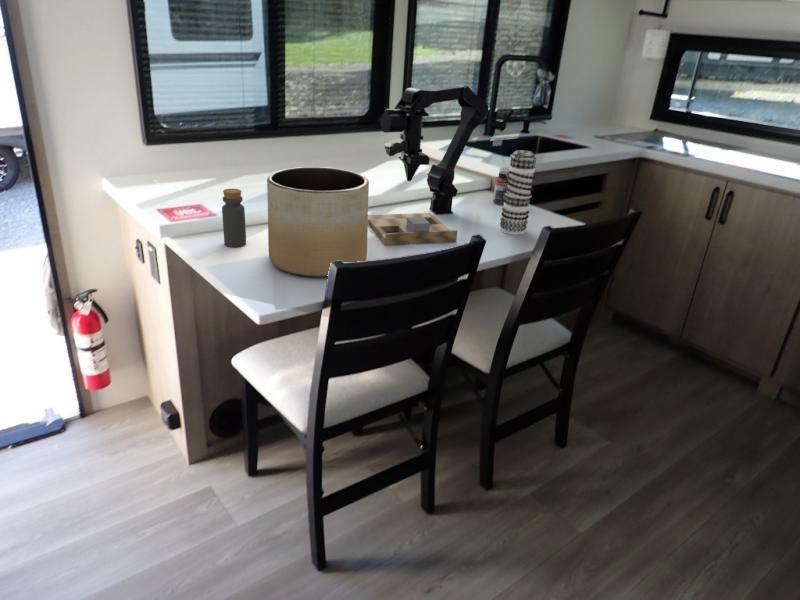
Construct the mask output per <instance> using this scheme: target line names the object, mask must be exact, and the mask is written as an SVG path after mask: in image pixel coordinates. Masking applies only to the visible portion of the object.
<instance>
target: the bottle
mask: <svg viewBox="0 0 800 600" xmlns="http://www.w3.org/2000/svg"><path fill="white" fill-rule="evenodd" d="M222 192H223V196H222V202H223V203H224V204H223V206H222V207H221V213H222V227H223V241H224V245H225V247H228V248H242V247H244V246H246V245H247V230H246V227H247V226H246V215H245V214H246V210H245V206H244V205H243V204H242V202H243V201H244V200H243V196H242V190H241V189H240V188H239V189H238V188H227V189H224V190H223V191H222Z"/></svg>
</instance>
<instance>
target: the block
mask: <svg viewBox="0 0 800 600" xmlns="http://www.w3.org/2000/svg"><path fill="white" fill-rule="evenodd" d="M429 229H430V223H429V222H428V221H427V220H426V219H425V218H424V217H409V218H407V227H406V231H407V232H423V231H429Z"/></svg>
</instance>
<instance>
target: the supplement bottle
mask: <svg viewBox="0 0 800 600" xmlns="http://www.w3.org/2000/svg"><path fill="white" fill-rule="evenodd" d="M508 172H509V171H505V170H504V171H503V170H502V171H499V173H498V177H495V183H494V189H493V190H494V191H493V198H492V201H493V203H494V204H496V203H498V204H497V205H501V204H504V202H505V197H506V195H505V192H504V190H505V185H506V184H507V183H506V181H505V179H506V174H507V173H508Z"/></svg>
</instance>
